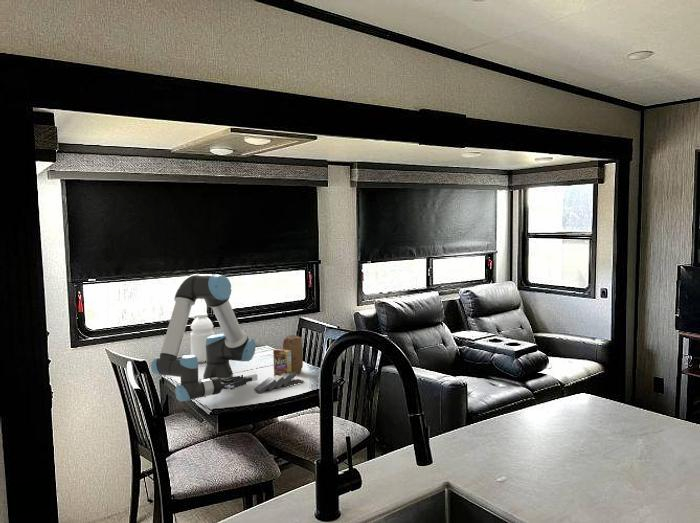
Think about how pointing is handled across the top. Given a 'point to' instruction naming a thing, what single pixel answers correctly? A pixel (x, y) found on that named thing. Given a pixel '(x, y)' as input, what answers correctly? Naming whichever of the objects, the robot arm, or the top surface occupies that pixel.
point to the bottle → (200, 335)
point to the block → (294, 352)
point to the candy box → (281, 361)
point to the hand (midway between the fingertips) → (256, 377)
